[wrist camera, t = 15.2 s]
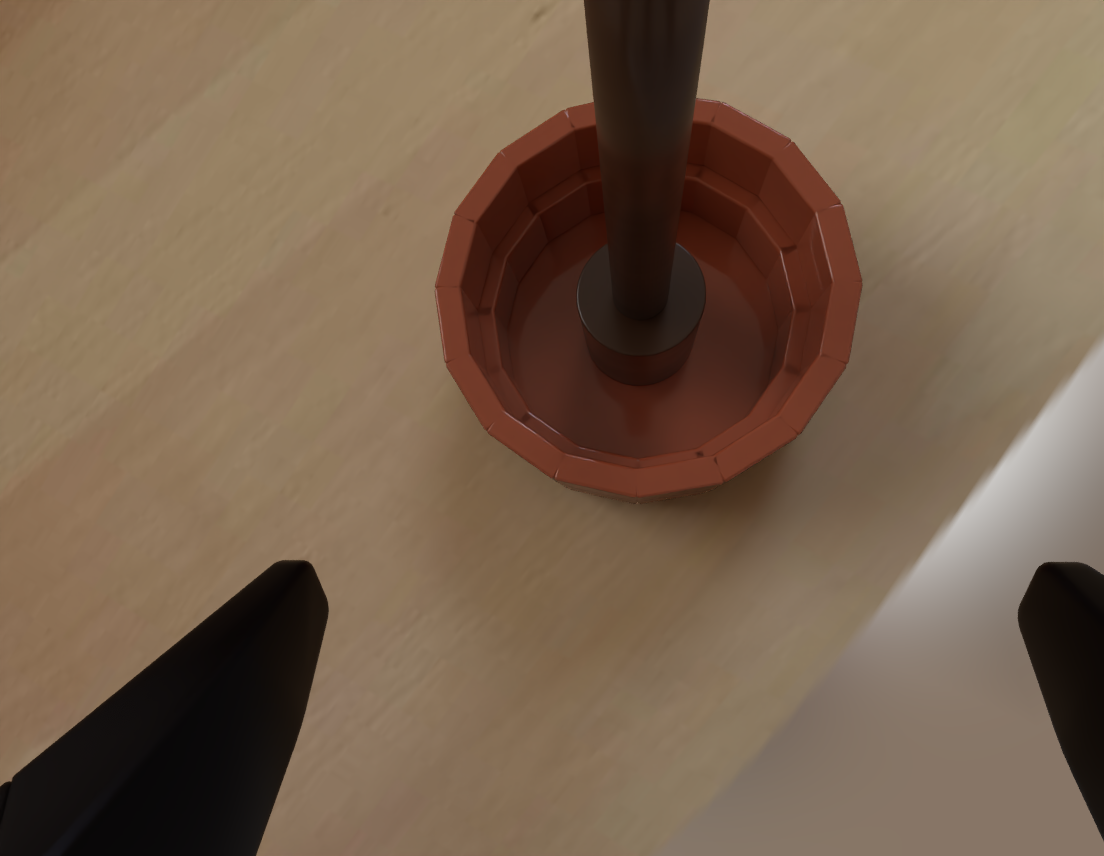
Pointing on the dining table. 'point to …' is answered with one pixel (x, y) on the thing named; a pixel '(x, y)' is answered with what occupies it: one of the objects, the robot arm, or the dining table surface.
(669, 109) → the brown pestle
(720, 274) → the bowl
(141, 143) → the dining table surface
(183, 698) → the robot arm
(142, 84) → the dining table surface
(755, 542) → the dining table surface
